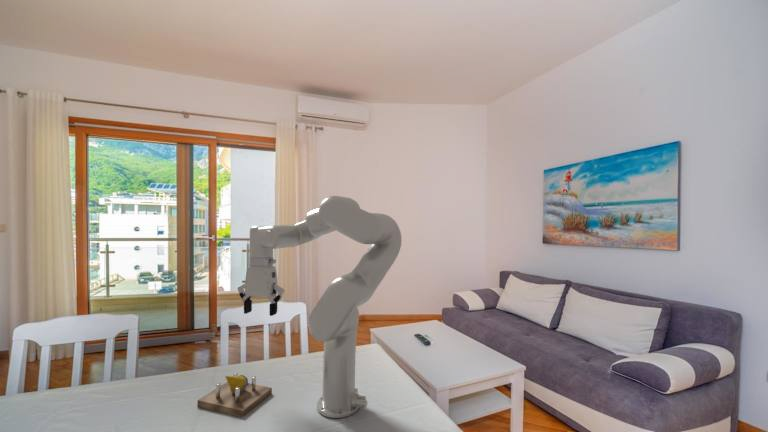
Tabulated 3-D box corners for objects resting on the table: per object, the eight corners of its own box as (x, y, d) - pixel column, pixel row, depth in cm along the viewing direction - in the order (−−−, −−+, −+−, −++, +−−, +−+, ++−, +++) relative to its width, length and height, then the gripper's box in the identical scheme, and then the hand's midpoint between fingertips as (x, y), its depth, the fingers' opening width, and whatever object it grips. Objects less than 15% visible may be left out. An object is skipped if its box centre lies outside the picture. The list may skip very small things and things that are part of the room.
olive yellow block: (252, 393, 99) (232, 381, 93) (236, 400, 99) (215, 389, 93) (253, 377, 103) (234, 364, 97) (238, 383, 103) (218, 371, 97)
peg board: (271, 393, 102) (272, 375, 102) (242, 417, 89) (243, 396, 89) (230, 385, 106) (231, 367, 107) (197, 406, 94) (198, 386, 94)
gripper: (290, 262, 109) (289, 312, 109) (246, 260, 113) (245, 309, 113) (277, 264, 102) (276, 318, 102) (231, 262, 106) (230, 314, 106)
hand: (260, 313), depth 107 cm, fingers open, 9 cm apart
